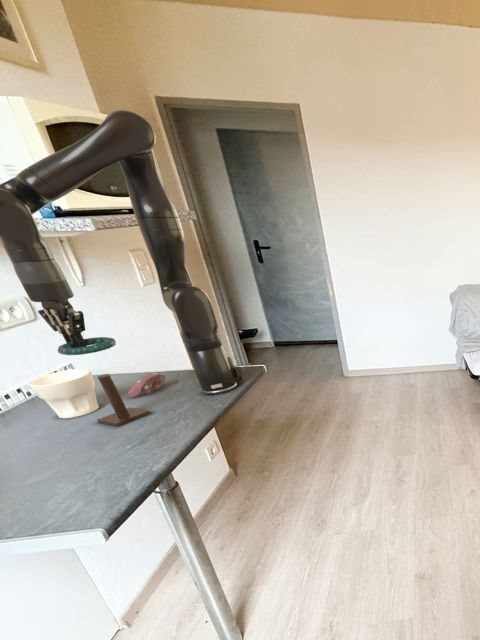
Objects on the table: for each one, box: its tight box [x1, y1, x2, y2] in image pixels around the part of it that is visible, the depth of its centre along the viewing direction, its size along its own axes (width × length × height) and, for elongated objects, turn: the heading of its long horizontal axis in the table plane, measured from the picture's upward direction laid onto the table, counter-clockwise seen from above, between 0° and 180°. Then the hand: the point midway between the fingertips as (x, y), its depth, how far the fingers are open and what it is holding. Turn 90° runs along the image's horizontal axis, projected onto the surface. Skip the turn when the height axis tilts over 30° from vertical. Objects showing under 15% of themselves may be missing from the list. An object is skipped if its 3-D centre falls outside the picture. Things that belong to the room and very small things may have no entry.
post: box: [96, 373, 151, 428], centre depth 114 cm, size 8×8×13 cm
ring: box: [57, 336, 117, 356], centre depth 107 cm, size 11×11×2 cm
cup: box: [27, 368, 100, 419], centre depth 118 cm, size 12×12×11 cm
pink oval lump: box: [128, 372, 167, 398], centre depth 132 cm, size 10×5×7 cm, turn 179°
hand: (78, 347), depth 108 cm, fingers closed on ring, 2 cm apart
